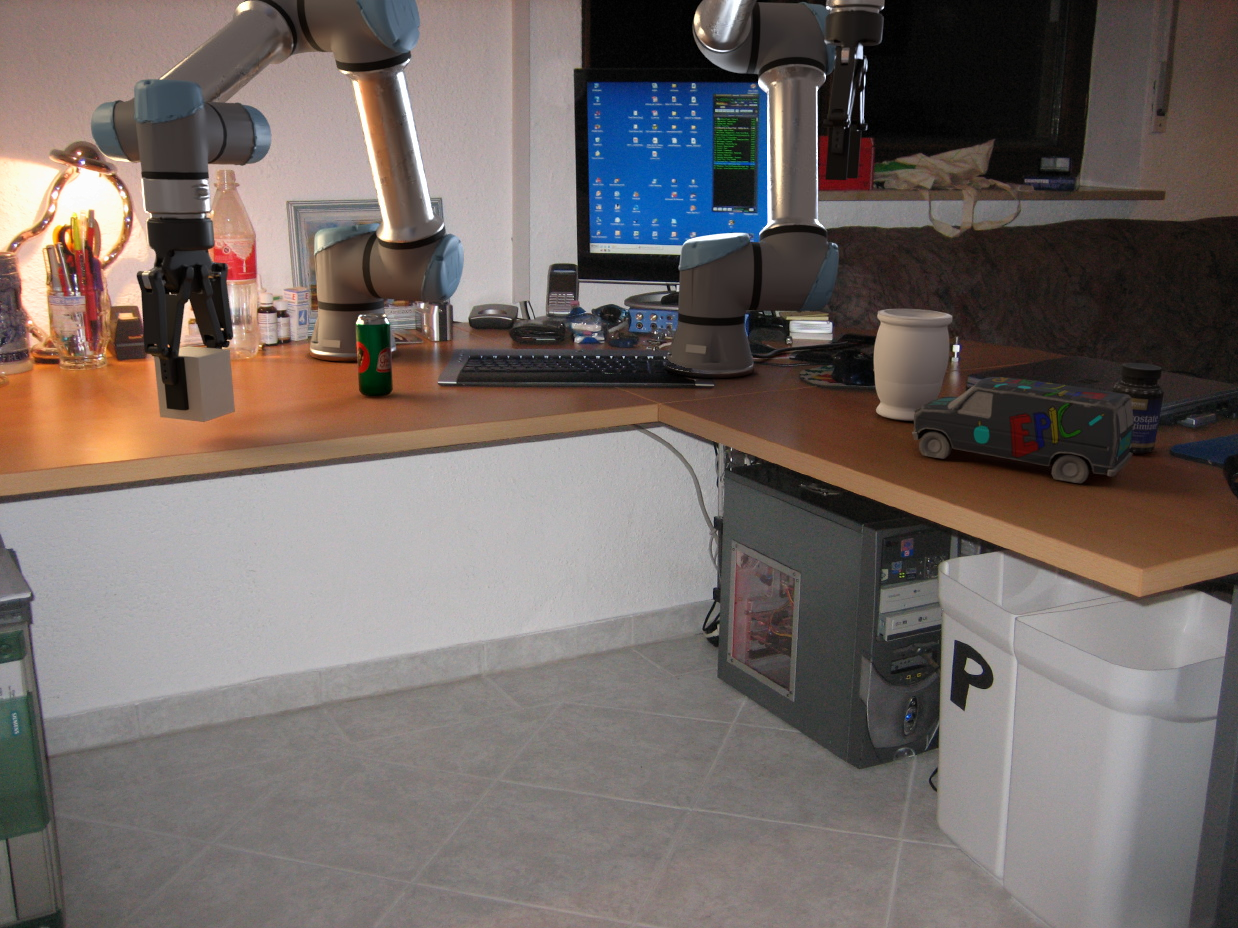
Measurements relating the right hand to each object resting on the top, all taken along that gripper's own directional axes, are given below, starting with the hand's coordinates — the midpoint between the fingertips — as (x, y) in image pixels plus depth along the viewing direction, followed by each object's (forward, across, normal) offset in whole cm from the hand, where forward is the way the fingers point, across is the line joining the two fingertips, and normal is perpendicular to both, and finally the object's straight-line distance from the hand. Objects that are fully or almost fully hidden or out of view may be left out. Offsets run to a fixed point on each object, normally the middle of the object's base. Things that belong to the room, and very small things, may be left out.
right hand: (842, 179), depth 147 cm
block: (+30, -46, +73) cm, 91 cm away
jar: (+33, +4, -11) cm, 35 cm away
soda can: (+33, -14, +66) cm, 75 cm away
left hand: (+28, -46, +73) cm, 91 cm away
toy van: (+33, -16, -26) cm, 45 cm away
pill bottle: (+33, -4, -40) cm, 53 cm away
